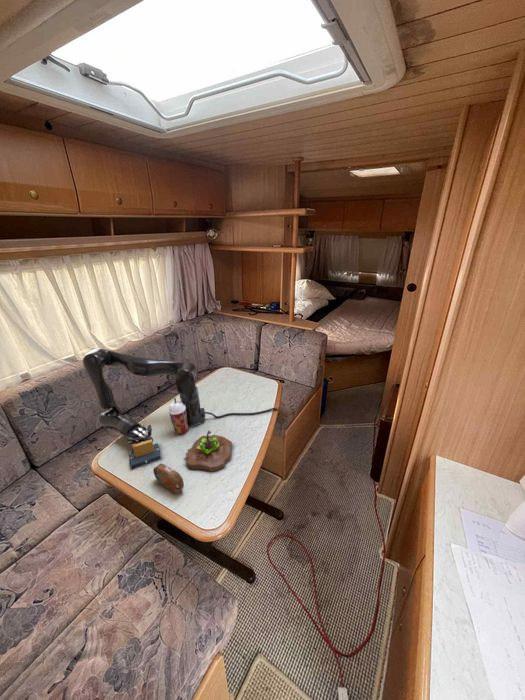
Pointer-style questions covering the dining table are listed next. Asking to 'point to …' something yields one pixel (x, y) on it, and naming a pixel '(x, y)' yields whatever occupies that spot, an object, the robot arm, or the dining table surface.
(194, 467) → the plant
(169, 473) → the tin
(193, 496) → the dining table surface
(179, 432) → the smoothie
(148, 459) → the tap plate
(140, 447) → the tap lever
